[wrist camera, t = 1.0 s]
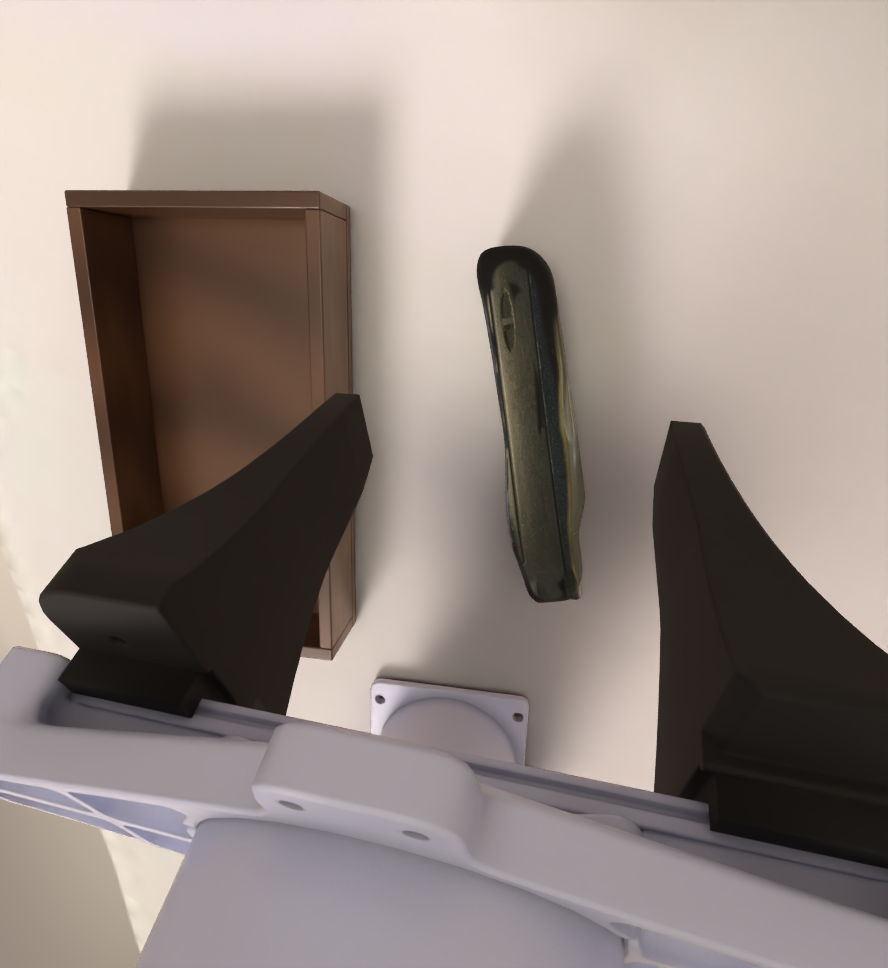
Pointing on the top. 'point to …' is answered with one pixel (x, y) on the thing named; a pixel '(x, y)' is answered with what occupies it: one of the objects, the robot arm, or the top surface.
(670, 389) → the top surface
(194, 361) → the tray
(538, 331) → the mobile phone
